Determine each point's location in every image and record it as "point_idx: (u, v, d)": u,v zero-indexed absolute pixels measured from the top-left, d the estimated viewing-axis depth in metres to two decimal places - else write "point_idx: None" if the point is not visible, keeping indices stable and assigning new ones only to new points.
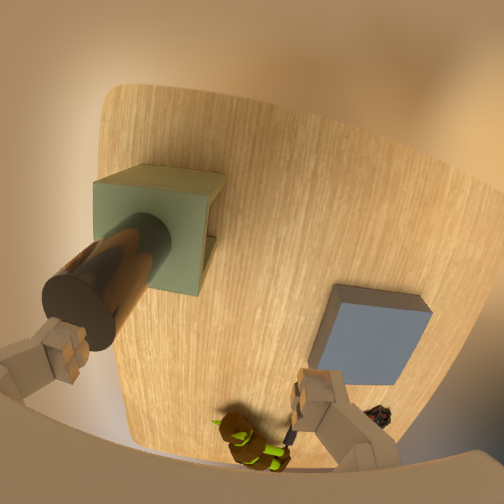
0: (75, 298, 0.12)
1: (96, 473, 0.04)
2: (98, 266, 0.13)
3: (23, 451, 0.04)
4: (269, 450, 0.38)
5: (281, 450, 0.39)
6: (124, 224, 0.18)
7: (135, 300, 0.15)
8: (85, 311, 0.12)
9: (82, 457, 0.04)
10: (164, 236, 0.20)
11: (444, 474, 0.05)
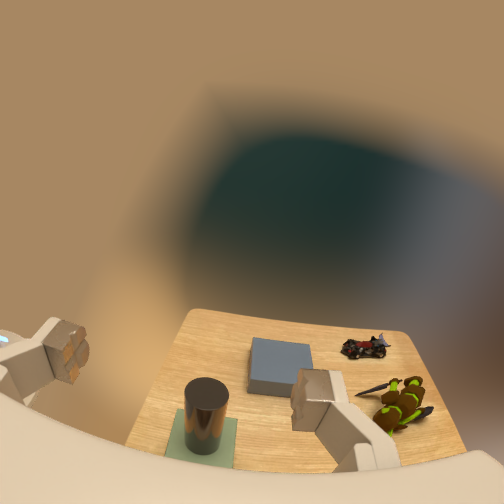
0: (196, 389, 0.28)
1: (96, 473, 0.04)
2: None
3: (23, 451, 0.04)
4: (391, 389, 0.48)
5: (391, 384, 0.50)
6: None
7: None
8: (203, 387, 0.28)
9: (82, 457, 0.04)
10: None
11: (444, 474, 0.05)
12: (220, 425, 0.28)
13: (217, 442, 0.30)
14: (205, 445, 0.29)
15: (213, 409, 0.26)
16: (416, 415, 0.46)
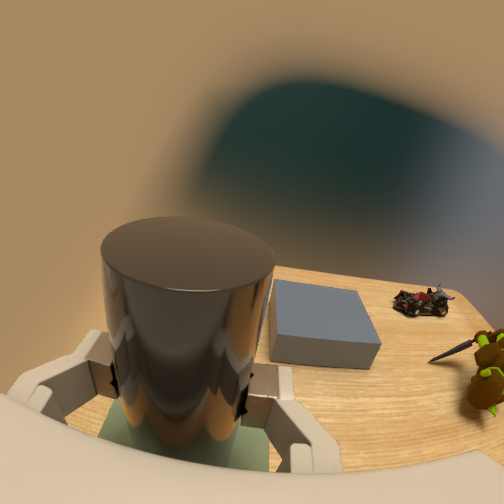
0: (150, 235, 0.08)
1: (96, 473, 0.04)
2: None
3: (23, 451, 0.04)
4: (484, 343, 0.28)
5: (479, 339, 0.30)
6: None
7: None
8: (177, 232, 0.08)
9: (82, 457, 0.04)
10: None
11: (444, 474, 0.05)
12: (237, 395, 0.08)
13: (223, 456, 0.09)
14: None
15: (211, 288, 0.06)
16: None
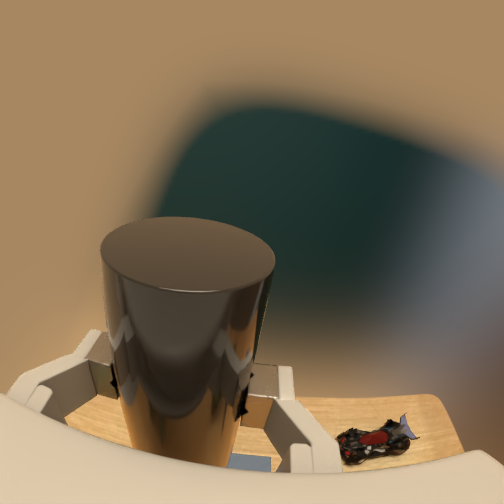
0: (149, 235, 0.08)
1: (96, 473, 0.04)
2: None
3: (23, 451, 0.04)
4: None
5: None
6: None
7: None
8: (177, 233, 0.08)
9: (82, 457, 0.04)
10: None
11: (444, 474, 0.05)
12: (236, 395, 0.08)
13: (223, 456, 0.09)
14: None
15: (210, 288, 0.06)
16: None
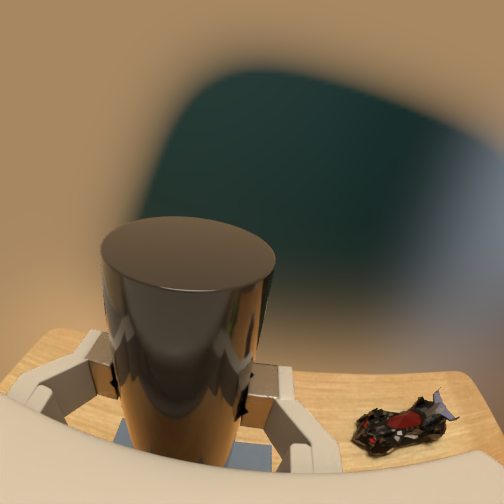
0: (150, 235, 0.08)
1: (96, 473, 0.04)
2: None
3: (23, 451, 0.04)
4: None
5: None
6: None
7: None
8: (177, 232, 0.08)
9: (82, 457, 0.04)
10: None
11: (444, 474, 0.05)
12: (237, 395, 0.08)
13: (223, 456, 0.09)
14: None
15: (210, 288, 0.06)
16: None
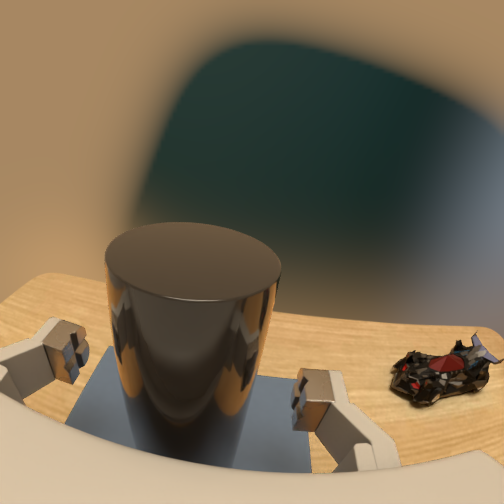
0: (155, 242, 0.08)
1: (96, 473, 0.04)
2: None
3: (23, 451, 0.04)
4: None
5: None
6: None
7: None
8: (182, 239, 0.08)
9: (82, 457, 0.04)
10: None
11: (444, 474, 0.05)
12: (242, 400, 0.08)
13: (227, 459, 0.09)
14: None
15: (218, 298, 0.06)
16: None
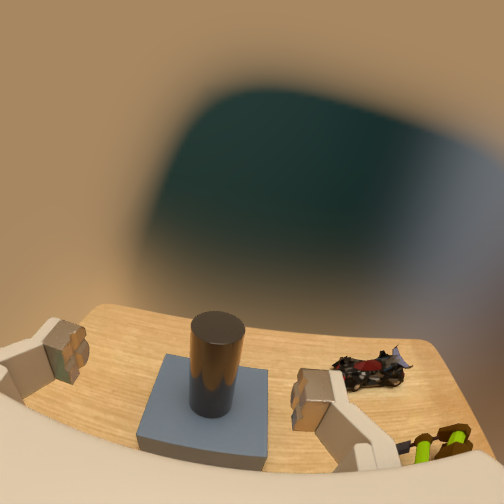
0: (205, 323, 0.24)
1: (96, 473, 0.04)
2: None
3: (23, 451, 0.04)
4: (420, 459, 0.20)
5: (418, 446, 0.22)
6: None
7: None
8: (213, 321, 0.25)
9: (82, 457, 0.04)
10: None
11: (444, 474, 0.05)
12: (234, 372, 0.25)
13: (229, 400, 0.26)
14: (214, 402, 0.25)
15: (226, 343, 0.22)
16: None
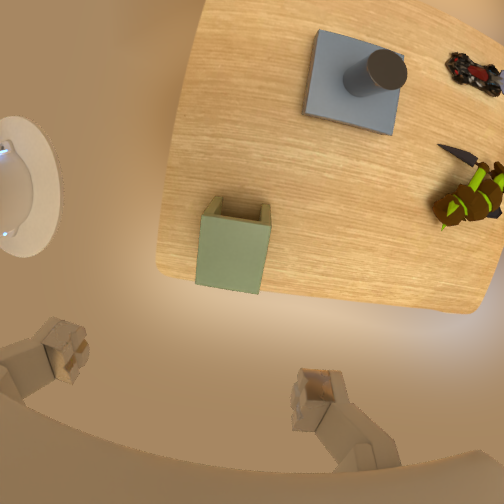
0: (378, 64, 0.23)
1: (96, 473, 0.04)
2: (364, 59, 0.25)
3: (23, 451, 0.04)
4: (474, 182, 0.34)
5: (478, 170, 0.34)
6: (348, 76, 0.30)
7: None
8: (384, 62, 0.23)
9: (82, 457, 0.04)
10: None
11: (444, 474, 0.05)
12: None
13: None
14: (367, 95, 0.31)
15: (393, 89, 0.24)
16: None
